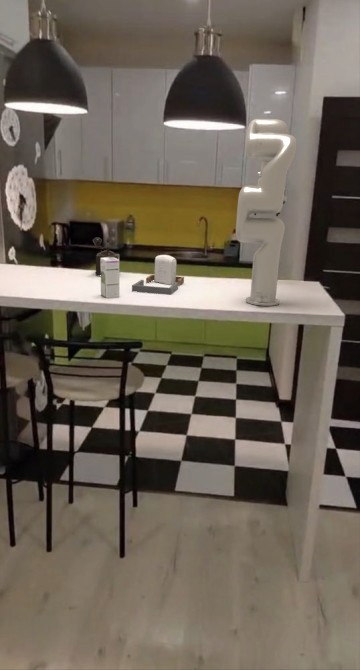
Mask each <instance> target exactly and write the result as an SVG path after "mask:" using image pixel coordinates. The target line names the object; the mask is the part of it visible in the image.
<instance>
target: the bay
mask: <svg viewBox="0 0 360 670" xmlns="http://www.w3.org/2000/svg"><path fill="white" fill-rule="evenodd" d="M178 289H179V286H178V282H176V283H175V284H173V285H170V287H163V286H153V285H152V286H149V285H145V280H144V279H140V280H138V281H137V282H135V283H134V284H132V285H131V291H132V292H133V291H137V292H136V293H145V292H147V293H148V294H157V293H158V295H159V294H160V295H172V294H173V293H175V292H176V291H177V290H178ZM147 293H146V294H147Z"/></svg>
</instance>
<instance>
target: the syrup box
mask: <svg viewBox="0 0 360 670" xmlns="http://www.w3.org/2000/svg"><path fill="white" fill-rule="evenodd" d="M100 262H101V276H100V295H101V296H102V297H104V298H105V299H113V298H120V258H119V259H116V258H113V257H105V258H101V259H100Z"/></svg>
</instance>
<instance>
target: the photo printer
mask: <svg viewBox="0 0 360 670" xmlns="http://www.w3.org/2000/svg"><path fill="white" fill-rule="evenodd" d="M153 275H154V282H155V283H158V282H159V284H163V285H169V286H172V285H173V284H175V283H176V276H177V259H176V258H175V257H173V256H171V255H169V254H160V255H159V254H158V255H157V256H156V257H155V259H154V274H153Z"/></svg>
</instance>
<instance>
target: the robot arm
mask: <svg viewBox="0 0 360 670" xmlns="http://www.w3.org/2000/svg"><path fill="white" fill-rule="evenodd" d="M288 131H289V129H288V125H287V124H286V122H285V121H284V120H281V119H276V118H254V119H253V120H251V121H250V122H249V124H248V126H247V130H246V136H245V144H244V145H245V146H244V152H245V155H246V156H247V157H248V158H249V159H254V160H259V161H260V162H261V168H260V171H257V176H259V178H258V180H257V184H256V185H245V186H243V187H241V189H240V191H239V194H238V199H237V208H236V209H237V211H236V225H235V238H236V240H237V241H238V242H240V243H244V244H246V243H247V244H259V245H260V247H259V248H258V249H257V250H256V251H255V252H254V254H253V259H252V272H251V281H250V282H251V283H250V284H251V285H250V295H249V296H247V297H246V298H245V302H246V303H248V304H251V305H254V306H263V307H272V306H273V307H274V306H278V305H280V300H279V299H278V298H277V288H278V287H277V285H278V277H279V265H280V258H281V257H280V256H281V248H282V243H283V240H284V239H283V238H284V235H285V228H286V226H285V223H284V221H283V220H282V219H280V218H277V217H279V215H281V211H282V210H283V206H284V205H285V203H286V201H287V200H288V198H289V197H288V196H287V195H285V191H286V190H285V188H286V180H287V173H288V171H289V168H290V166H291V165H292V162H293V159H294V158H295V154H296V150H297V139H296V137H295V136H294V135H292V134H288V133H289V132H288ZM251 214H254V215H253V216H250V215H251ZM257 214H262V215H263V214H265V215H273V214H274V215H275V216H276V217H271V216H270V217H269V216H257Z"/></svg>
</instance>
